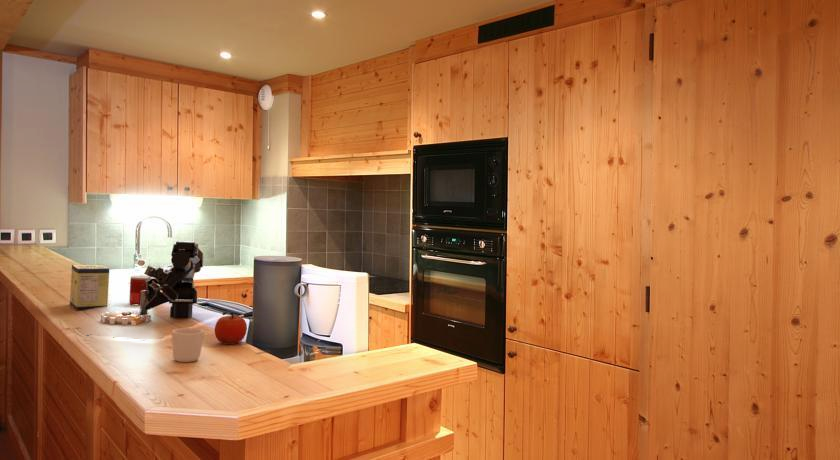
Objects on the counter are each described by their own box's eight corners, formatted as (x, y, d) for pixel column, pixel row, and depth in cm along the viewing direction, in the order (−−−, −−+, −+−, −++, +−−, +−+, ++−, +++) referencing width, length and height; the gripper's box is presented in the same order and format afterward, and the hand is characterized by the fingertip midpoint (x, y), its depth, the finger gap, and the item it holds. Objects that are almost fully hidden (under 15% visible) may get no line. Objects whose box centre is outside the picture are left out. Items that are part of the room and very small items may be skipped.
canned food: (142, 305, 231) (143, 278, 231) (124, 303, 233) (126, 276, 233) (154, 303, 239) (156, 276, 239) (137, 301, 240) (139, 275, 240)
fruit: (253, 343, 180) (254, 311, 180) (228, 347, 172) (230, 314, 172) (231, 338, 185) (233, 306, 185) (207, 342, 177) (208, 310, 177)
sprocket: (160, 320, 200) (161, 291, 200) (123, 326, 186) (125, 295, 186) (128, 314, 206) (129, 286, 205) (90, 320, 192) (92, 290, 192)
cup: (179, 353, 162) (181, 325, 162) (208, 354, 163) (210, 326, 162) (165, 363, 151) (167, 332, 151) (197, 364, 152) (199, 334, 152)
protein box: (99, 303, 231) (101, 264, 231) (107, 309, 219) (110, 268, 219) (69, 304, 224) (71, 264, 224) (76, 311, 212) (78, 268, 212)
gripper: (152, 254, 206) (117, 286, 200) (169, 261, 192) (132, 296, 186) (174, 275, 212) (140, 307, 205) (192, 283, 198) (157, 318, 191)
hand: (142, 307), depth 197 cm, fingers open, 7 cm apart
